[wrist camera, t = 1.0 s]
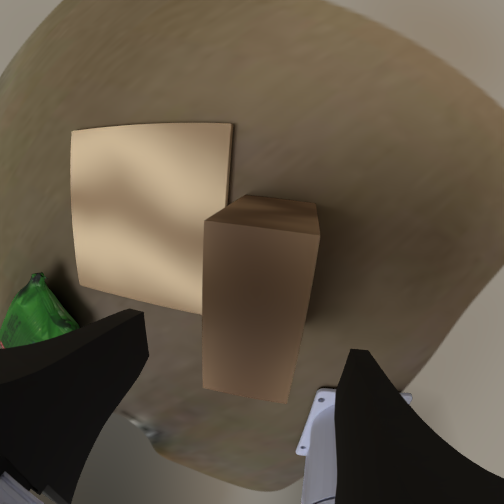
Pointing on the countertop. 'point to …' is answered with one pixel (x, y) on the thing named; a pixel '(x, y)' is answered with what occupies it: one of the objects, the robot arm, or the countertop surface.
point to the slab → (256, 294)
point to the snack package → (35, 316)
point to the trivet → (147, 207)
